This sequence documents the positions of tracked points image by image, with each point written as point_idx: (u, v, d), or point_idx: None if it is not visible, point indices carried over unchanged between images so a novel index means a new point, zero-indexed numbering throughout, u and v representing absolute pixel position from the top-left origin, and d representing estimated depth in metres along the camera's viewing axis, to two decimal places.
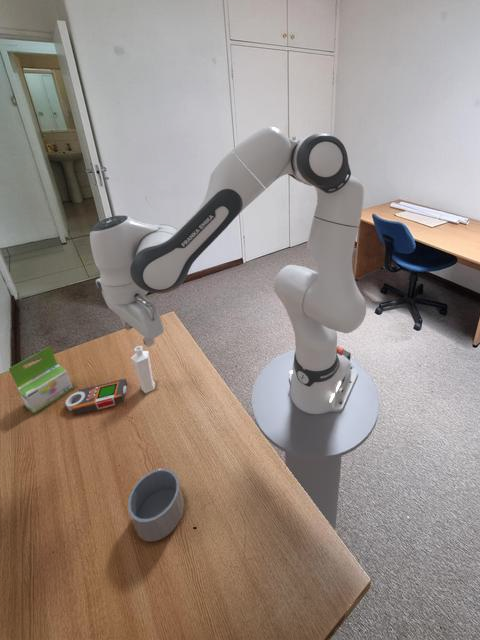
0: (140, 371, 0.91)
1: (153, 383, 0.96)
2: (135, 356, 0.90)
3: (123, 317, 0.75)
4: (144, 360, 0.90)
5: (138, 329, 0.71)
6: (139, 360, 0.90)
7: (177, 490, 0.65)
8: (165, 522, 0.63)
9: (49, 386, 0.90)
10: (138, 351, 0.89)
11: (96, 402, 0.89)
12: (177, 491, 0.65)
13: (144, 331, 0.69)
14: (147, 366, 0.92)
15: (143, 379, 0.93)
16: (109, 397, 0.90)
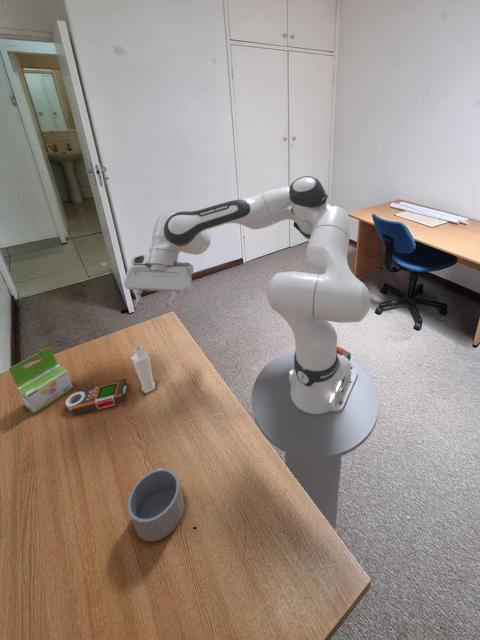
0: (140, 371, 0.91)
1: (153, 383, 0.96)
2: (135, 356, 0.90)
3: (151, 284, 1.00)
4: (144, 360, 0.90)
5: (172, 285, 0.99)
6: (139, 360, 0.90)
7: (177, 490, 0.65)
8: (165, 522, 0.63)
9: (49, 386, 0.90)
10: (138, 351, 0.89)
11: (96, 402, 0.89)
12: (177, 491, 0.65)
13: (182, 282, 0.99)
14: (147, 366, 0.92)
15: (143, 379, 0.93)
16: (109, 397, 0.90)
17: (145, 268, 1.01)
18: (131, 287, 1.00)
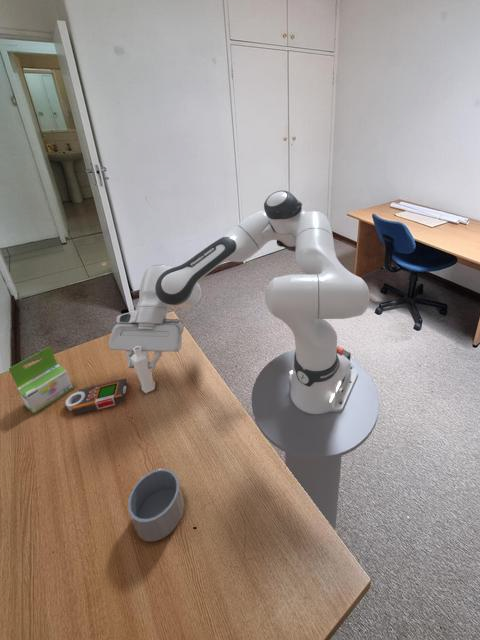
0: (140, 371, 0.91)
1: (153, 383, 0.96)
2: (134, 356, 0.90)
3: (138, 345, 0.93)
4: (143, 360, 0.90)
5: (161, 346, 0.92)
6: (138, 360, 0.90)
7: (177, 490, 0.65)
8: (165, 522, 0.63)
9: (49, 386, 0.90)
10: (137, 351, 0.89)
11: (96, 402, 0.89)
12: (177, 491, 0.65)
13: (172, 342, 0.93)
14: (146, 366, 0.92)
15: (143, 379, 0.93)
16: (109, 397, 0.90)
17: (132, 327, 0.94)
18: (116, 349, 0.93)
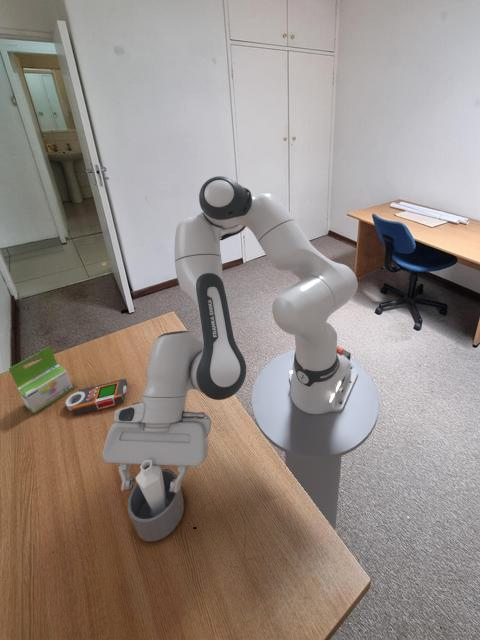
0: (149, 497, 0.62)
1: (167, 504, 0.67)
2: (142, 476, 0.61)
3: (145, 456, 0.63)
4: (155, 482, 0.61)
5: (180, 458, 0.63)
6: (148, 483, 0.61)
7: None
8: (165, 522, 0.63)
9: (49, 386, 0.90)
10: (146, 471, 0.61)
11: (96, 402, 0.89)
12: None
13: (195, 452, 0.64)
14: (159, 488, 0.63)
15: (153, 505, 0.64)
16: (109, 397, 0.90)
17: (136, 428, 0.65)
18: (114, 461, 0.63)
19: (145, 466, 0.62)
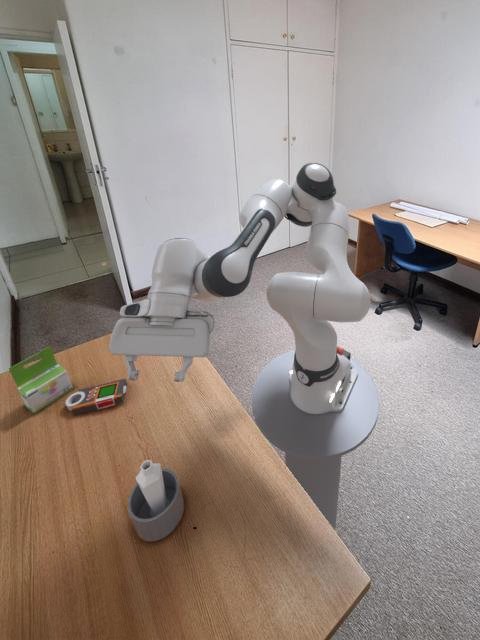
0: (149, 497, 0.62)
1: (167, 504, 0.67)
2: (142, 476, 0.61)
3: (151, 348, 0.65)
4: (155, 482, 0.61)
5: (184, 349, 0.65)
6: (148, 483, 0.61)
7: (177, 490, 0.65)
8: (165, 522, 0.63)
9: (49, 386, 0.90)
10: (146, 471, 0.61)
11: (96, 402, 0.89)
12: (177, 491, 0.65)
13: (199, 344, 0.65)
14: (159, 488, 0.63)
15: (153, 505, 0.64)
16: (109, 397, 0.90)
17: (142, 323, 0.66)
18: (120, 353, 0.65)
19: (145, 466, 0.62)
